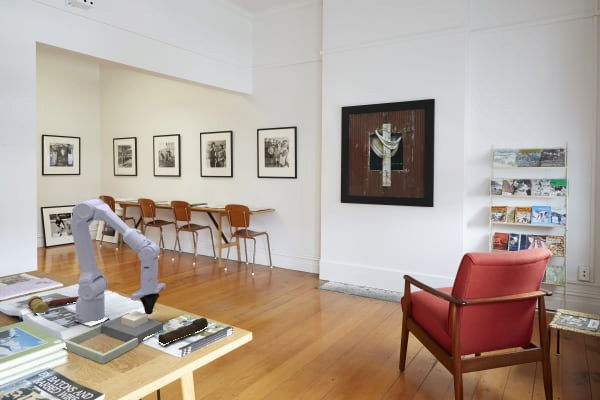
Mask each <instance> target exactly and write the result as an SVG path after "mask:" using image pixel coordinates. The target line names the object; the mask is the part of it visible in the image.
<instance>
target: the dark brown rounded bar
mask: <svg viewBox="0 0 600 400" xmlns="http://www.w3.org/2000/svg"><path fill="white" fill-rule="evenodd" d="M207 326H208V327H209V322H208V319H207V318H205V317H200V318H197V319H194V320H192V322H191V323H190V324H187V325H185V326H182V327H179V328H176V329H174V330H171V331H169V332H166V333H162V334H160V333H158V341H159V342H161V343H163V344H166V343H168V342H170V341H173V340H175V339H178V338H181V337H184V336H186V335H189V334H191V335H193V334H192V333H195V332H197V331H200V330H202V329H204V328H205V327H207ZM189 336H190V335H189ZM186 337H187V336H186ZM184 338H185V337H184ZM159 342H158V343H159Z"/></svg>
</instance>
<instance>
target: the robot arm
mask: <svg viewBox="0 0 600 400" xmlns="http://www.w3.org/2000/svg"><path fill="white" fill-rule="evenodd" d="M71 211H72V216H71V219H70V224H69V225H70V230H71V234H72V238H73V243H74V248H75V251H76V255H77V260H78V263H79V264H78V265H79V269H80V276H79V278H78V289H77V295H78V296H80V297H79V298H78V299H77V301H76V303H75V319H76V318H78V319H81V320H83V321H86V322H90V321H98V320H101V319H103V318H104V317H106V316H105V309H106V308H105V303H106V302H105V300H106V299H105V298H106V297H105V296H106V295H105V291H106V289H108V286H109V282H108V280H107V278H106V276H105V275H104V272H103V271H102V270H101V269H100V268H99V266H98V263H97V257H96V253H95V249H94V244H93V240H92V235H91V232H90V226H91V225H92V223H93V222H94V221H98V222H105V224H107V225H109V226H110V227H111V228H112V229H114V230H115V231H116V232H118V233H119V235H121V236H122V241H123V242H124V243H125V244H126V245H128V246H129V247H130V248H131V249H133V250H134V252H136V254H137V257H138V259H139V260H140V289H138V290H137V291H135V292H133V293H131V294H130V300H131V301H135V302H137V301H138V299H139V300H140V302H141V304H142V306H143V309H144V314H147V315H148V316H150V315H152V314H153V311H154V309H155V305H156V303H157V301H158V299H159V297H160V291H161V290H166V287H167V286H166V285H167V284H166V283H164V282H160V283H159V280H158V277H159V258H158V256H159V255H160V254H161V247H160V245H159V244H158V243H157V242H155V241H152V240H151V239H148V237H146V236H145V235H144V234H143V233H142V230H140V229H136V227H135V228H131V227H129V226H128V225H127V224H126V222H124V221H123V220H122V219H121V217H119V216H118V215H117V213H115V212H114V211H113V210H112V209H111V207H110V206H109V204H107V203H105V201H104V200H102V199H100V198H98V197H97V198H96V197H94V198H92V199H88V200H83V201H79V202H78V203H76V205H75V206H74V207H73V208H72V209H71Z"/></svg>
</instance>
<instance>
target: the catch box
mask: <svg viewBox="0 0 600 400" xmlns="http://www.w3.org/2000/svg"><path fill="white" fill-rule="evenodd" d="M100 334H102V333H101V325H96V326H93V327H91V328H89V329H86V330H85V331H82V332H80V333H77V334H76V335H73V336H70V337H67V338H66V339H63V340H64V341H65V343H66V347H67V350H66V351H69V352H71V353H74V354H76V355H79V356H82V357H84V358H87V359H89V360H91V361H95V362H97V363H100V364H103V365H104V364H107V363H108V362H110V361H112V360H113V359H116V358H117V357H120V356H122V355H123V354H125V353H127V352H129V351H131V350H133V349H134V348H136V347H139V344H138V338H134V339H132V340H130V341H128V342H126V341H125V342H124V343H123V344H120V345H118V346H116V347H114V348H112V349H110V350H108V351H106V352H105V353H103V352H100V351H98V350H95V349H93V348H90V347H87V346H85V345H81V344H80V343H81V342H84V341H87V340H88V339H91V338H93V337H95V336H98V335H100Z"/></svg>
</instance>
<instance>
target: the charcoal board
mask: <svg viewBox="0 0 600 400" xmlns="http://www.w3.org/2000/svg"><path fill="white" fill-rule="evenodd" d="M129 313H130V312H128V313H126V314H123V315H120V316H118V317H115V318H113V319H110V320H108V321H105V322H103V323H100V326H101V333H100V334H103V335H105V336H108V337H111V338H114V339H117V340H121V341H123V342H125V343H126V342H128V341H130V340H132V339H134V338H138V345H139V344H141V343H142V342H144V341H143V339H144V338H145V337H147V336H150V335H152V334H155V333H157V332H159V331H161V330H163V331H164V329H163V327H164V323H163V322H162V321H158V320H155V319H151V318H149V317H148V322H146V323H144V324H142V325H139V326H137V327H135V328H133V327H130V326H127V325H124V324H121V317H122V316H124V315H127V314H129Z"/></svg>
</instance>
